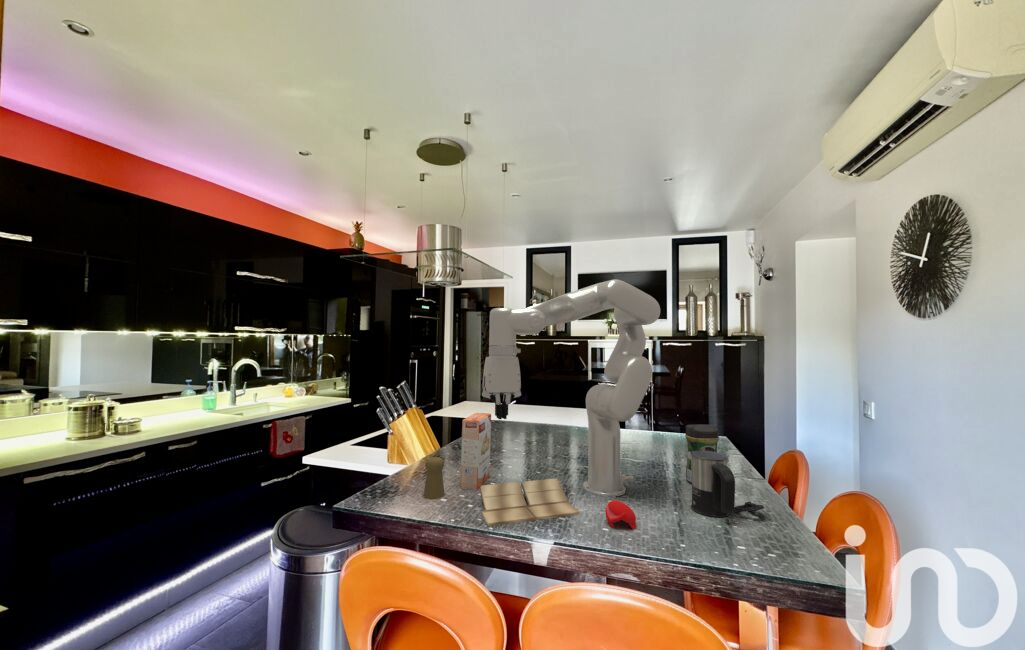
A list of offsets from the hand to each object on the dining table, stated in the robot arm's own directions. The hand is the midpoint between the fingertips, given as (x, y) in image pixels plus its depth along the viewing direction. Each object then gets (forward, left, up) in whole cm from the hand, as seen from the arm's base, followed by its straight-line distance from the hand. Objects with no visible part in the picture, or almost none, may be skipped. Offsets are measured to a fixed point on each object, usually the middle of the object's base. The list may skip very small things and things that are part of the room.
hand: (501, 418), depth 112 cm
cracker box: (+3, -17, -23) cm, 29 cm away
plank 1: (0, +2, -21) cm, 21 cm away
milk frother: (-56, +22, -23) cm, 65 cm away
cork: (+17, -9, -23) cm, 30 cm away
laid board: (-5, +10, -23) cm, 26 cm away
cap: (-24, +22, -23) cm, 40 cm away
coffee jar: (-67, +2, -23) cm, 71 cm away
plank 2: (-12, +2, -21) cm, 24 cm away
